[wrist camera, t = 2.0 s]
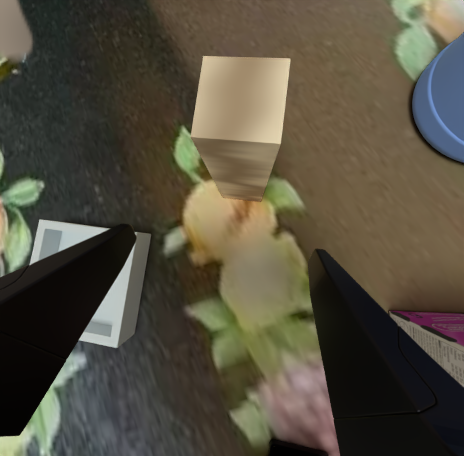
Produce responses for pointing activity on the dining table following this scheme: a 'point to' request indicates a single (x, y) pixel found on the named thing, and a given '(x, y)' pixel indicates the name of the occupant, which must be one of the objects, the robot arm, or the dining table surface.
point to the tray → (120, 294)
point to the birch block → (240, 121)
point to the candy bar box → (437, 337)
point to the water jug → (442, 101)
